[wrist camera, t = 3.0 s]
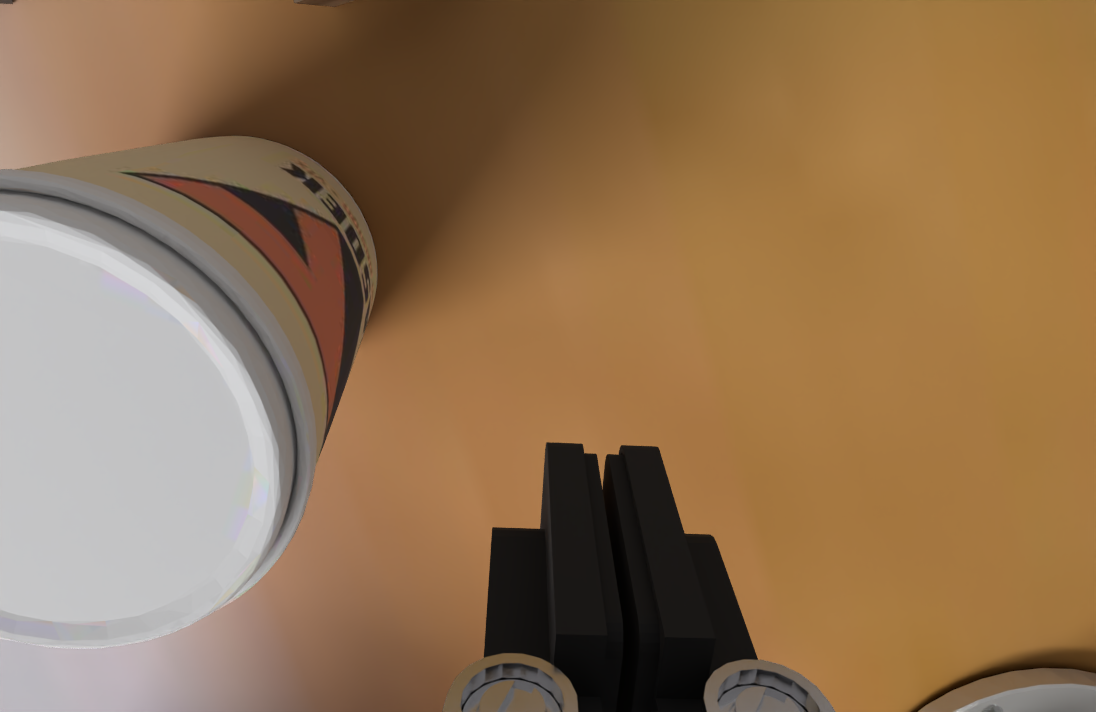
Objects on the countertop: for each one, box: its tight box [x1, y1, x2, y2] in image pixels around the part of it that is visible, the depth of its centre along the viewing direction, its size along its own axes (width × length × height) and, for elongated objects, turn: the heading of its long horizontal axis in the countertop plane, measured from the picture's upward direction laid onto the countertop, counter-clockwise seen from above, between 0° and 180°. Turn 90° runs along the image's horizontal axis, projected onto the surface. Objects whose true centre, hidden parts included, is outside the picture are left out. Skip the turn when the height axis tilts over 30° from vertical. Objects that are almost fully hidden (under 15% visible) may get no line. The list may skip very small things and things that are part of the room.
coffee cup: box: [0, 136, 377, 649], centre depth 19 cm, size 9×9×12 cm
